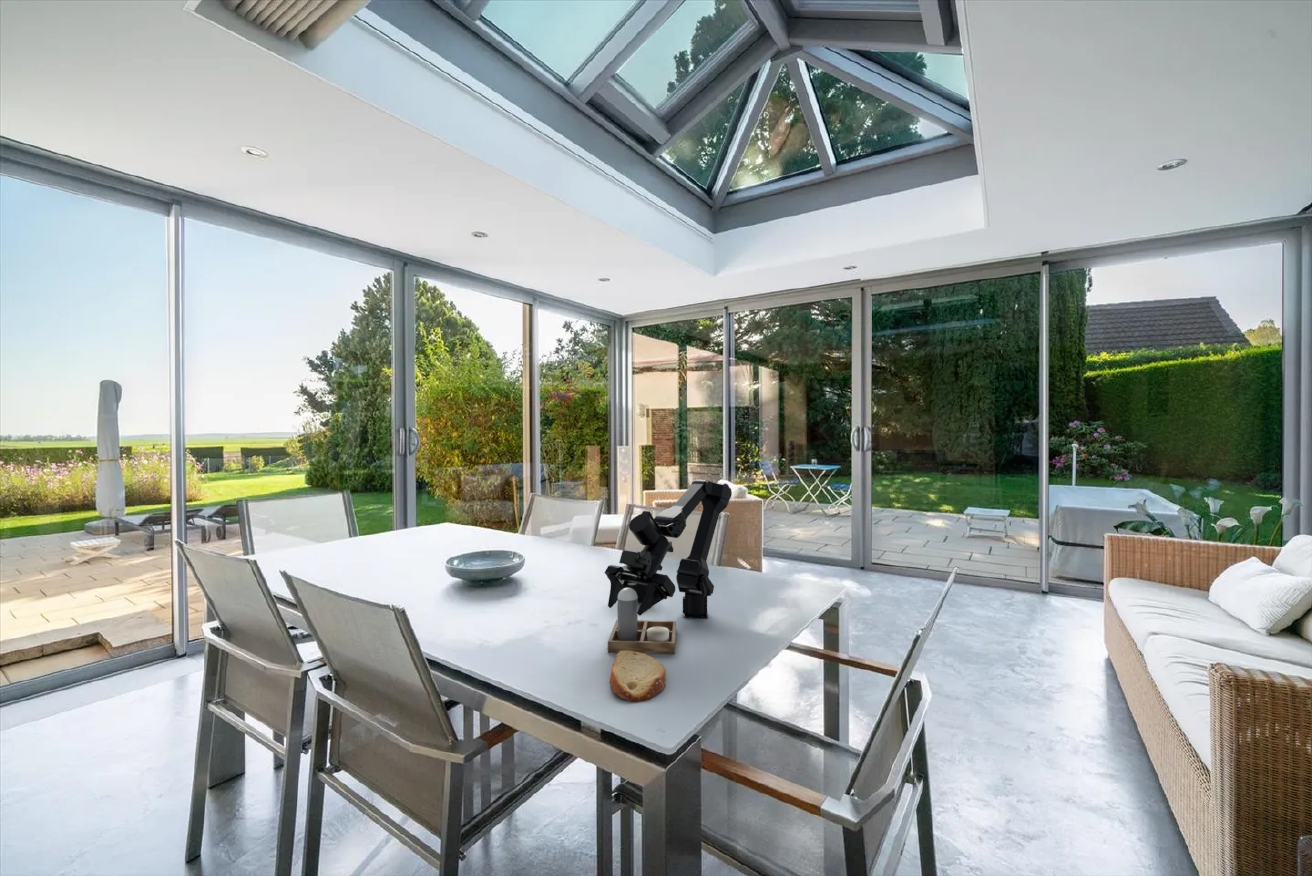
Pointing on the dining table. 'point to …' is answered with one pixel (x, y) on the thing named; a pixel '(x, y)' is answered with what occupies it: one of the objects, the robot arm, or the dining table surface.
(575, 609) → the dining table surface
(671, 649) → the caddy
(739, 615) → the dining table surface
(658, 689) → the slice of bread
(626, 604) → the grey rounded cylinder
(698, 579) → the robot arm
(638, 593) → the mug
